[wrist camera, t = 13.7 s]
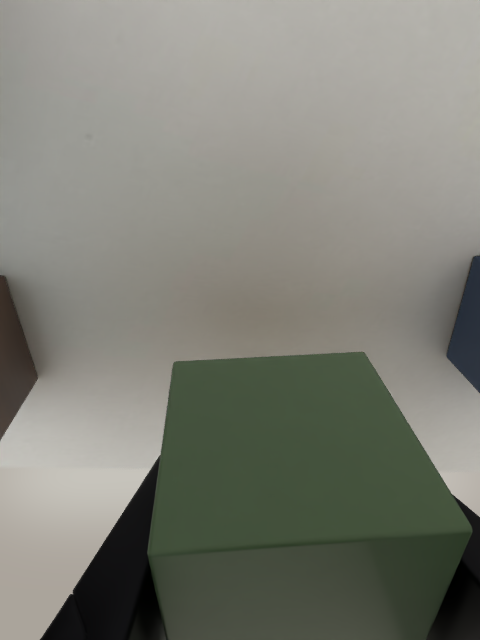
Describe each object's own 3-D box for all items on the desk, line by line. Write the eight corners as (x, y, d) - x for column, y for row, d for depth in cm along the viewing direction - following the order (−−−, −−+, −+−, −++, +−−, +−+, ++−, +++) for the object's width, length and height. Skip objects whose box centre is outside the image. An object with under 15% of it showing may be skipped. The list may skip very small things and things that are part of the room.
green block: (344, 480, 12) (412, 675, 8) (188, 491, 11) (177, 697, 7) (364, 350, 9) (476, 529, 5) (172, 360, 9) (145, 555, 5)
